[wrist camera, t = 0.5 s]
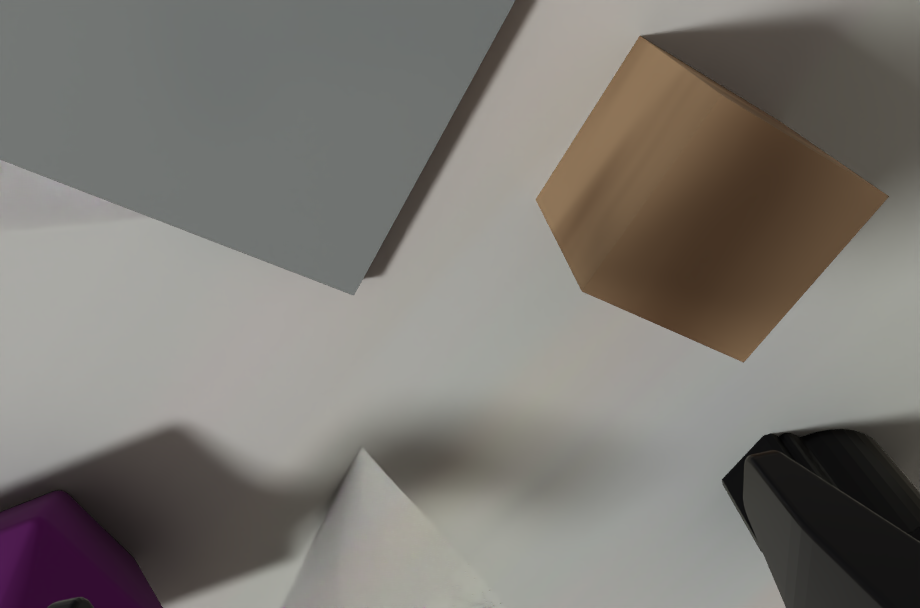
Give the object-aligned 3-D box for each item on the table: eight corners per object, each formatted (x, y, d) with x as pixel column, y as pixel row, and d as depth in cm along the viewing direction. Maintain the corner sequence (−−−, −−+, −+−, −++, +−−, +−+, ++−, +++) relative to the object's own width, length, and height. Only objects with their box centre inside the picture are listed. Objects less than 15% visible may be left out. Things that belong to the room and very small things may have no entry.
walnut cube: (779, 121, 21) (888, 196, 16) (670, 263, 23) (744, 362, 19) (638, 34, 19) (721, 94, 15) (535, 198, 21) (581, 291, 17)
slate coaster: (535, -56, 17) (543, -51, 17) (353, 280, 22) (353, 295, 21) (85, -338, 14) (72, -347, 13) (-28, 131, 18) (-43, 143, 17)
